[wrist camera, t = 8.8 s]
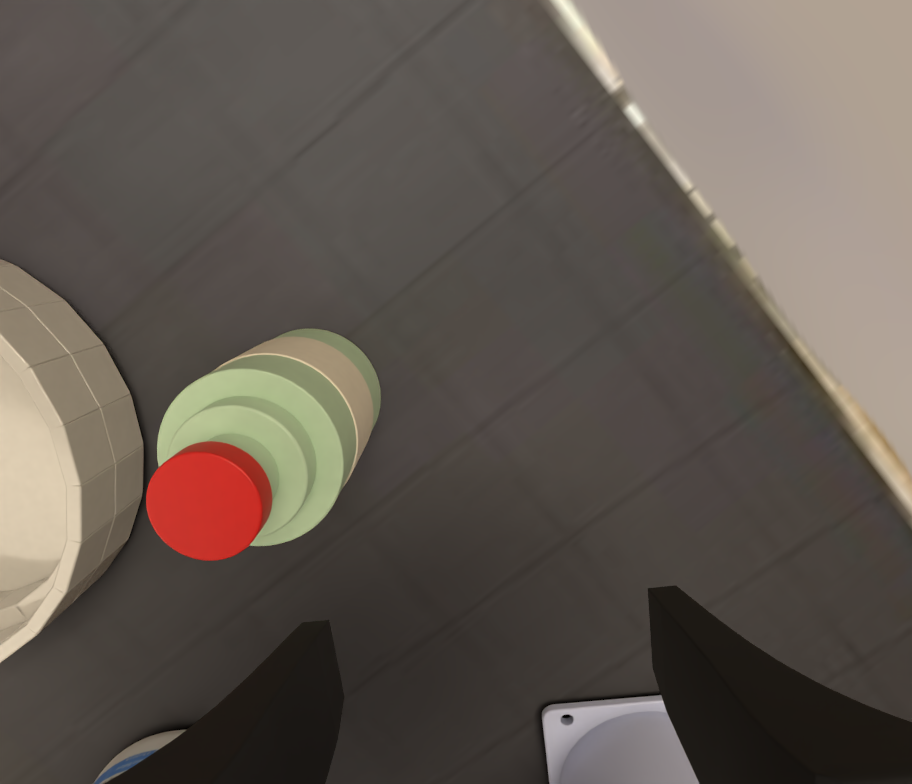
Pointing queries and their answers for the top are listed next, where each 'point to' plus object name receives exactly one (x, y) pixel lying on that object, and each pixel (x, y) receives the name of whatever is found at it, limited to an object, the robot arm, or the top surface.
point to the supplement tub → (135, 754)
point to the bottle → (262, 445)
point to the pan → (58, 458)
